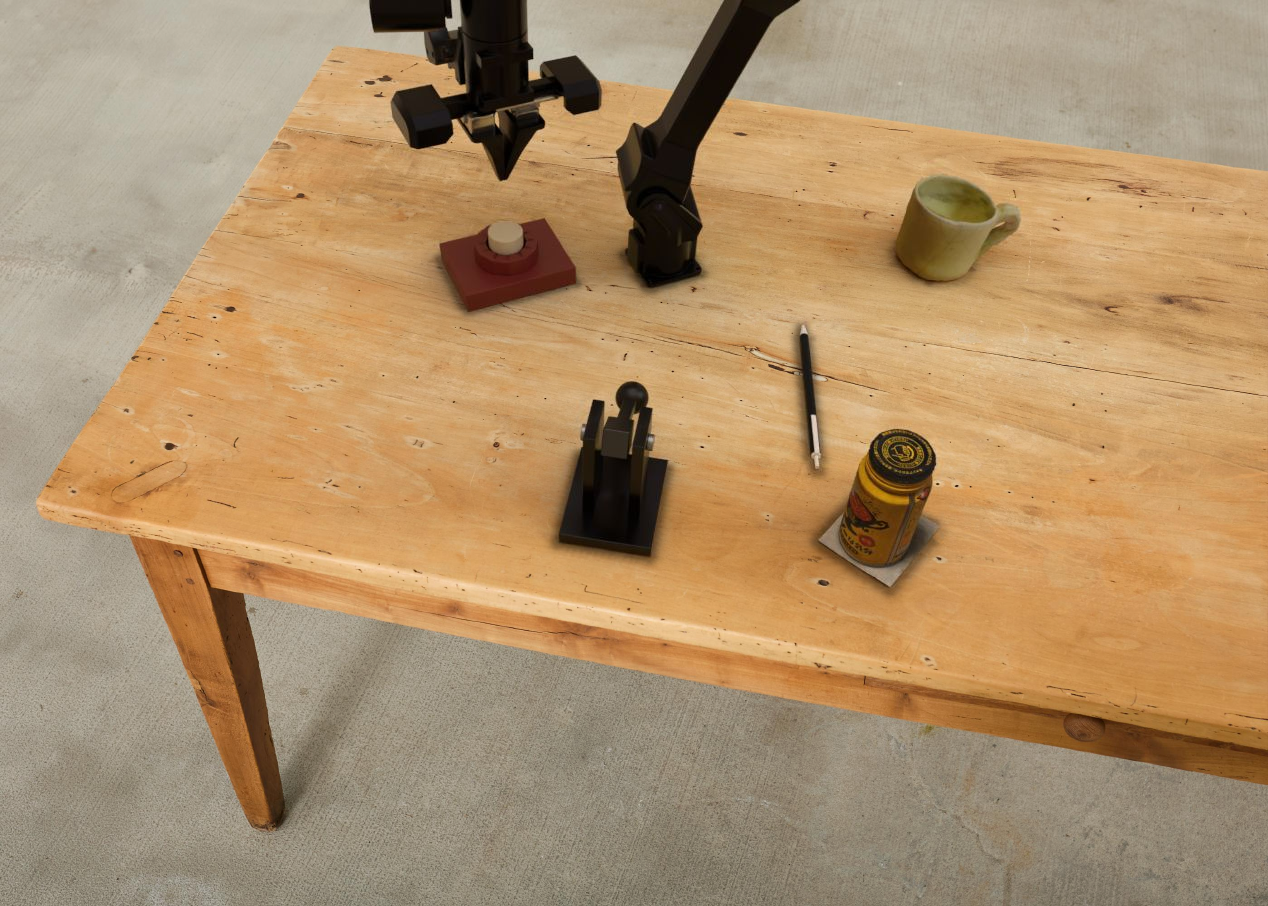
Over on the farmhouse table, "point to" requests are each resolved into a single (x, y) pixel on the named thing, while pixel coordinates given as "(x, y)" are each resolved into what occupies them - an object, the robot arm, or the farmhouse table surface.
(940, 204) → the mug
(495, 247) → the button
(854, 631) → the farmhouse table surface
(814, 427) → the pen
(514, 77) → the robot arm
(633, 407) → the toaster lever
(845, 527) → the condiment
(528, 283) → the button housing
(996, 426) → the farmhouse table surface
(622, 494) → the lever bracket
